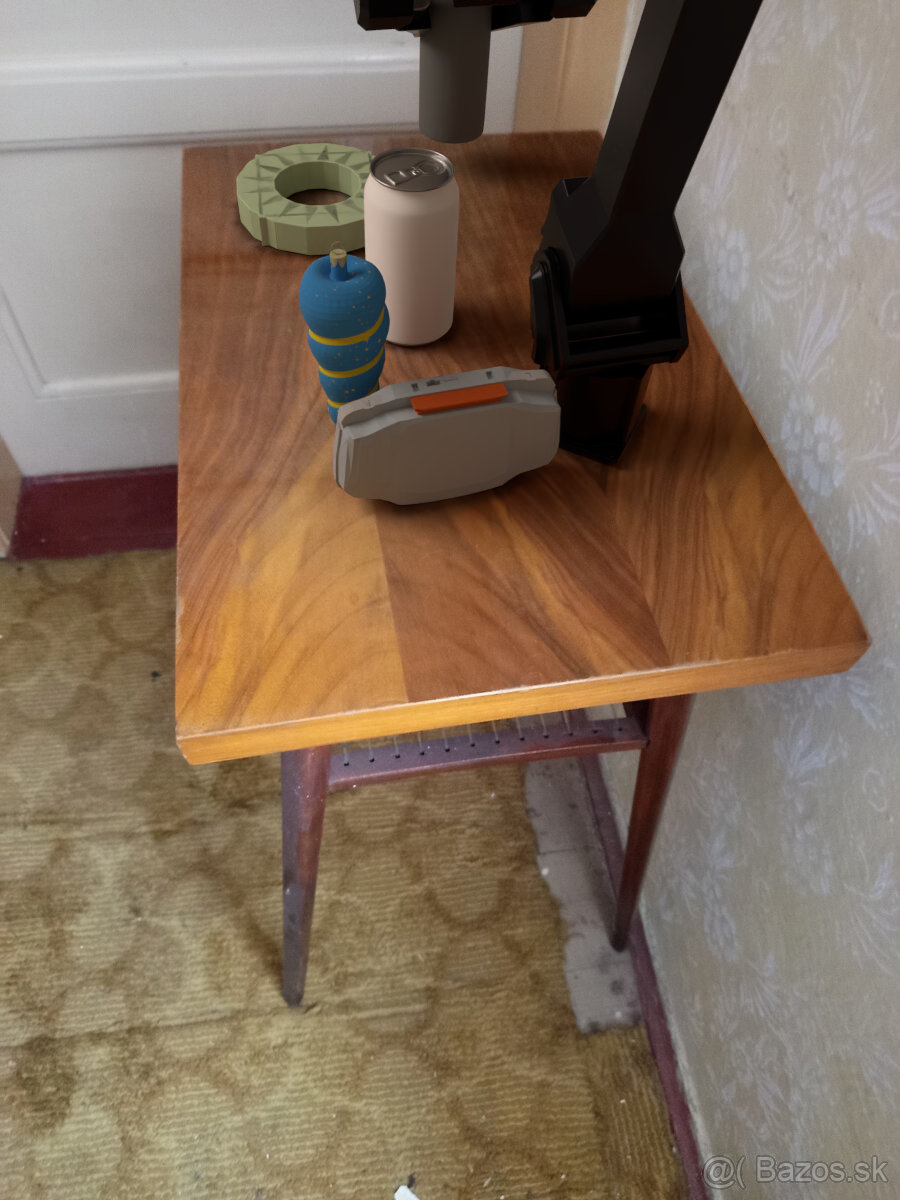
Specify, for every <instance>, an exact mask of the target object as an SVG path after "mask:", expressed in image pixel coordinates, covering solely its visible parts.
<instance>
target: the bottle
mask: <svg viewBox="0 0 900 1200" xmlns="http://www.w3.org/2000/svg"><path fill="white" fill-rule="evenodd" d="M428 8H429V15H430V21H431V29H430V30H429V31H428V32H426V33H425V34H424V35H423V36H420V37H419V65H418V67H419V72H418V73H419V74H418V75H419V76H418V77H419V78H418V79H419V80H418V83H419V84H418V129H419V131H420V133H421V134H422V135H423V136H424V137H426V138H427V139H429V140H432V141H434V142H436V143H437V142H438V143H442V144H449V145H450V144H453V145H459V144H466V143H470V142H473V141H476V140H478V139H480V137H481V136H482V135H483V133H484V129H485V119H486V107H487V95H488V94H487V93H488V79H489V69H490V68H489V67H490V55H491V54H490V53H491V52H490V51H491V39H492V32H491V25H492V9H493V5H490V6H474V7H457V8H454V3H453V0H431V1H430V4H429V6H428Z"/></svg>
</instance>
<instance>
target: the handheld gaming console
mask: <svg viewBox="0 0 900 1200" xmlns="http://www.w3.org/2000/svg"><path fill="white" fill-rule="evenodd" d="M555 386H556V385H555V383H554V381H553V380H552V378H551V376H550V374H549V373H548V372H547V371H545V370H539V369H518V368H515V367H514V368H513V367H509V366H502V365H499V366H494V367H488V368H481V369H476V370H469V371H462V372H457V373H450V374H443V375H438V376H430V377H426V378H420V379H419V378H418V379H413V380H412V379H411V380H407V381H401V382H395V383H391V384H388V385H387V386H384V387H382V388H381V389H380V390H379V391H377V392H375V393H373V394H371V395H369V396H367V397H365V398H362V399H359V400H356V401H352V402H350V403H348V404H345V405H342V406H341V407H340V408H339V410H338V417H337V424H336V425H335V431H334V438H333V445H332V475H333V478H334V481H335V484H336V485H337V487H338V488H339V489H341V490H343V492H345V493H346V494H348V495H349V496H351V497H353V498H355V499H367V500H383V501H387V502H389V503H393V504H395V505H398V506H403V505H404V506H406V505H416V504H424V503H425V504H426V503H431V502H432V503H433V502H438V501H443V500H449V499H453V498H454V499H455V498H459V497H463V496H469V495H472V494H476V493H480V492H484V491H487V490H491V489H494V488H497V487H501V486H503V485H504V484H506V483H508V482H509V481H510V480H511V479H513V478H514V477H516V476H518V475H519V474H522V473H525V472H529V471H531V470H532V471H533V470H536V469H538V468H540V467H543V466H546V465H549V464H550V462H551V461H552V460H553V458H554V457H555V456H556V454H557V453H558V451H559V446H558V445H559V434H560V412H561V408H560V406H559V404H558V403H557V390H556V388H555Z"/></svg>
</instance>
